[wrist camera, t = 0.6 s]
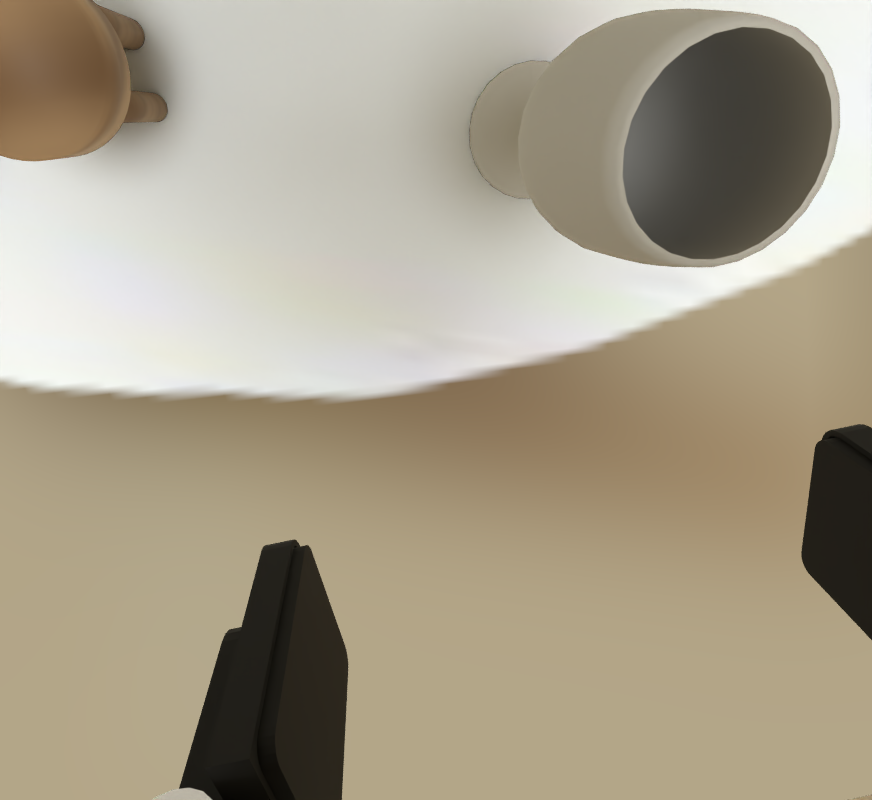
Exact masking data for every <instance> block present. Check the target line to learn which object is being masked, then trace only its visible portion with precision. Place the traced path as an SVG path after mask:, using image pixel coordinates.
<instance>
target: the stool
mask: <svg viewBox="0 0 872 800" xmlns="http://www.w3.org/2000/svg"><path fill="white" fill-rule="evenodd" d="M143 43H144V32H143V29H142V27H141V26H140V24H139V23H138V22H136V21H135V20H133V19H131V18H129V17H126V16H124V15H121V14H119V13H116V12H114V11H111V10H109V9H106V8H104V7H101V6H99V5H96V3H95V2H94V1H93V0H0V156H4V157H7V158H10V159H16V160H22V161H44V160H53V159H60V158H68V157H76V156H80V155H84V154H88V153H90V152H93V151H95V150H97V149H99V148H100V147H102V146H103V145H105V144H106V143H107V142H108V141H109V140H111V139H112V138H113V136H114V135H115V134H116V133H117V132H118V130H119V129H120V127H121V125H122V123H132V122H160V121H162V120H163V119H165V117H166V115H167V111H168V110H167V105H166V102H165V101H164V99H163V98H162V97H161V96H159V95H158V94H155V93H149V92H140V91H131V78H130V71H129V65H128V61H127V58H126V54H125V51H124V49H123V48H126V49H130V50H136V49H139V48H140V47H141V46H142V45H143Z"/></svg>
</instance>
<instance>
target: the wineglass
mask: <svg viewBox="0 0 872 800" xmlns="http://www.w3.org/2000/svg"><path fill="white" fill-rule="evenodd" d="M839 128H840V104H839V93H838V90H837V86H836V82H835V78H834V75H833V71H832V68H831V67H830V65H829V63H828V62H827V60H826V58H825V57H824V55H823V53H822V52H821V50H820V48H819V47H818V45H817V44H815V43H814V42H813V41H812V40H811V39H810V38H808V37H807V36H806V35H805V34H804V33H803V32H801V31H800V30H799V29H798V28H796V27H794V26H791V25H788V24H786V23H783V22H781V21H778V20H776V19H773V18H770V17H766V16H762V15H758V14H751V13H743V12H734V11H719V10H702V9H669V10H655V11H648V12H642V13H638V14H633V15H629V16H625V17H621V18H616V19H614V20H611V21H609V22H607V23H605V24H603V25H601V26H599V27H597V28H595V29H593V30H592V31H590V32H588V33H586V34H584V35H582V36H580V37H579V38H578V39H576V40H575V41H574V42H573V43H572V44H571V45H570V46H569V47H568V48H566V49H565V50H564V51H563V52H562V53H561V54H560V55H559V56H557V57H556V58H555V59H554V60H553V61H552V62H551V63H550V62H547V61H528V62H523V63H519V64H515V65H513V66H511V67H509V68H508V69H506V70H504V71H502V72H500V73H499V74H498V75H497V76H496V77H495V78H494V79H493V80H492V81H490V82H489V83H488V84H487V86H486V87H485V89H484V90H483V92H482V93H481V95H480V96H479V98H478V100H477V103H476V105H475V108H474V110H473V113H472V117H471V123H470V129H469V134H470V148H471V152H472V155H473V159H474V162H475V164H476V166H477V167H478V169H479V171H480V173H481V175H482V176H483V177H484V178H485V179H486V180H487V181H488V182H489V183H490V184H491V186H493V187H494V188H496V189H497V190H499V191H501V192H502V193H504V194H506V195H509V196H513V197H516V198H527V199H531V200H532V202H533V203H534V205H535V207H536V209H537V210H538V211H539V213H540V214H541V215H542V216H543V217H544V218H545V219H546V220H547V222H548V223H549V224H550V225H551V226H552V227H553V228H554V229H555V230H556V231H557V232H559V233H560V234H562V235H563V236H565V237H567V238H568V239H570V240H572V241H573V242H575V243H576V244H578V245H580V246H581V247H583V248H586V249H589V250H592V251H595V252H599V253H602V254H606V255H609V256H613V257H616V258H620V259H625V260H629V261H633V262H638V263H643V264H650V265H658V266H671V267H715V266H719V265H723V264H728V263H732V262H736V261H739V260H742V259H744V258H746V257H748V256H750V255H752V254H754V253H756V252H758V251H760V250H763V249H764V248H765V247H767V246H768V245H769V244H771V243H772V242H773V241H775V240H776V239H777V238H779V237H780V236H781V235H783V234H784V233H785V232H786V231H787V230H788V229H789V228H790V227H791V226H792V225H793V224H794V223H795V222H796V221H797V220H798V218H799V217H800V216H801V215H802V214H803V213H804V212H805V211H806V210H807V208H808V206H809V205H810V203H811V202H812V200H813V199H814V197H815V195H816V194H817V192H818V191H819V189H820V188H821V186H822V184H823V182H824V179H825V177H826V175H827V172H828V170H829V167H830V165H831V162H832V160H833V157H834V154H835V149H836V144H837V138H838V133H839Z"/></svg>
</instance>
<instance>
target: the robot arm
mask: <svg viewBox="0 0 872 800" xmlns="http://www.w3.org/2000/svg"><path fill="white" fill-rule="evenodd" d="M802 561H803V564H804V566H805V568H806V570H807V571H808V573H809V574H810V575H811V576H812V577H813V578H814V580H815V581H816V582H817V583H818V584H819V585H820V586H821V587H822V588H823V589H824V590H825V591H826V592H827V593H828V594H829V595H830V596H831V597H832V598H833V600H835V602H837V604H838V605H839V606H840V607H841V608H842V609H843V610H844V611H845V612H846V613H847V614H848V615H849V616H850V618H851V619H852V620H853V621H854V622H855V623H856V624H857V625H858V626H859V627H860V628H861V629H862V630H863V631H864V632H865V633H866V634H867V635H868V637H869V638H870V639H871V640H872V428H871V427H869V426H866V425H861V424H858V425H854V426H849V427H844V428H839V429H835V430H830V431H828V432H826V433H825V434H824V436H823V438H822V440H821V441H819V442H818V443H817V444H816V447H815V452H814V460H813V468H812V475H811V483H810V491H809V499H808V506H807V514H806V522H805V529H804V537H803V545H802ZM347 682H348V658H347V652H346V648H345V645H344V642H343V639H342V636H341V633H340V630H339V628H338V625H337V622H336V619H335V616H334V613H333V611H332V608H331V605H330V602H329V599H328V596H327V594H326V591H325V588H324V585H323V582H322V579H321V577H320V574H319V571H318V568H317V565H316V563H315V560H314V557H313V554H312V551H311V549H310V547H309V546H308V545H306V546H301V547H300V545H299V543H298V542H297V541H296V540H289V541H284V542H280V543H275V544H270V545H265V546H264V547H263V549H262V551H261V555H260V559H259V563H258V567H257V570H256V574H255V578H254V581H253V585H252V589H251V593H250V597H249V601H248V604H247V608H246V612H245V616H244V620H243V623H242V627H240V628H235V629H230V630H229V631H228V632H227V633H226V634H225V636H224V639H223V641H222V644H221V647H220V651H219V654H218V658H217V661H216V664H215V668H214V671H213V675H212V678H211V681H210V685H209V688H208V692H207V695H206V698H205V702H204V705H203V709H202V713H201V716H200V719H199V723H198V726H197V729H196V733H195V736H194V740H193V743H192V746H191V750H190V753H189V757H188V760H187V764H186V767H185V770H184V774H183V777H182V781H181V784H180V787H179V789H175V790H171V791H169V792H167V793H164V794H162V795H159V796H157V797H155V798H154V799H153V800H342V783H343V782H342V781H343V763H344V762H343V761H344V741H345V722H346V702H347ZM849 800H872V795H868V796H864V797H859V798H854V799H849Z"/></svg>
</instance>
